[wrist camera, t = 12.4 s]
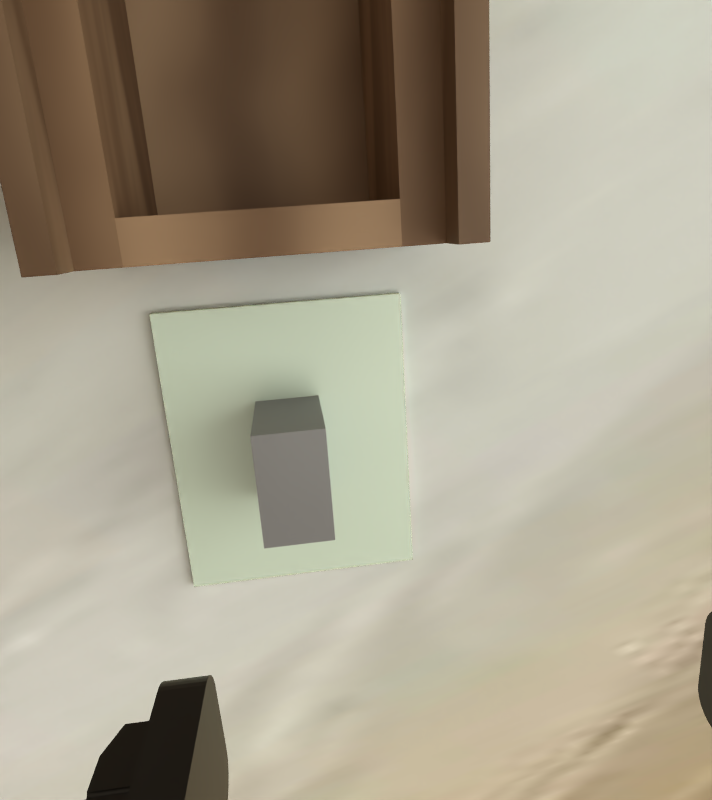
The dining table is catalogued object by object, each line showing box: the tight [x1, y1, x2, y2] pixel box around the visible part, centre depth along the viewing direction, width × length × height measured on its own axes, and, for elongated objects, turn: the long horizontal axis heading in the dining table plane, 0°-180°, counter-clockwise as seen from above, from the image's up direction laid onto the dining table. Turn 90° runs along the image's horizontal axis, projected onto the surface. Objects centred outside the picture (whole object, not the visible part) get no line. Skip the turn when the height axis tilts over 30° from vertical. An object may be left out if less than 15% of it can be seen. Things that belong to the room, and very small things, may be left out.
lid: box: [149, 293, 413, 587], centre depth 28 cm, size 11×14×6 cm
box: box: [0, 0, 490, 277], centre depth 20 cm, size 14×16×10 cm
